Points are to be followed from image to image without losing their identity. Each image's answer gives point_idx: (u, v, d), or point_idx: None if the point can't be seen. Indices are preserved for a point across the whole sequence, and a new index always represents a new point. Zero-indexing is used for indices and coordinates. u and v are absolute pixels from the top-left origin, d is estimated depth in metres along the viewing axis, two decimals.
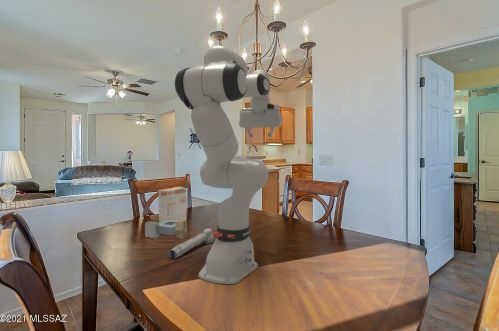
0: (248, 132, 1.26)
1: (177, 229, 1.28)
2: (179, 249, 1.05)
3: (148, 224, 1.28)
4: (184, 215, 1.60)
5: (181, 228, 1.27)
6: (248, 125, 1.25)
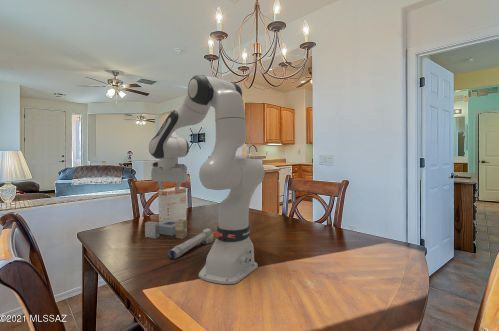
0: (179, 186, 1.37)
1: (177, 229, 1.28)
2: (179, 249, 1.05)
3: (148, 224, 1.28)
4: (184, 215, 1.60)
5: (181, 228, 1.27)
6: None
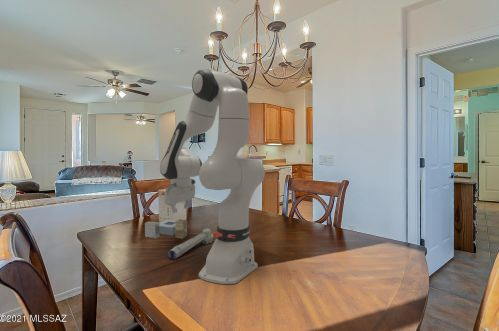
0: (175, 208, 1.24)
1: (177, 229, 1.28)
2: (178, 249, 1.05)
3: (148, 224, 1.28)
4: (184, 215, 1.60)
5: (181, 228, 1.27)
6: (177, 201, 1.23)
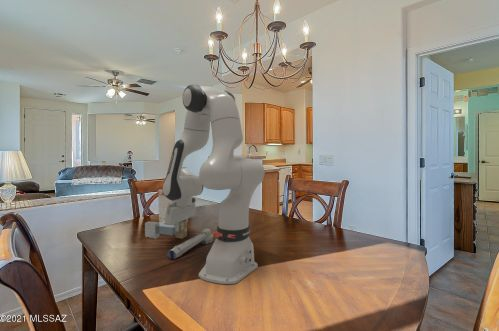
0: (178, 226, 1.26)
1: None
2: (178, 249, 1.05)
3: (148, 224, 1.28)
4: None
5: (181, 228, 1.27)
6: (177, 221, 1.24)
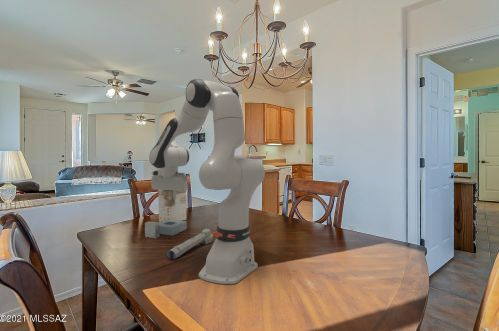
0: (176, 194, 1.38)
1: (171, 198, 1.37)
2: (178, 250, 1.04)
3: (148, 224, 1.28)
4: (184, 215, 1.60)
5: None
6: None
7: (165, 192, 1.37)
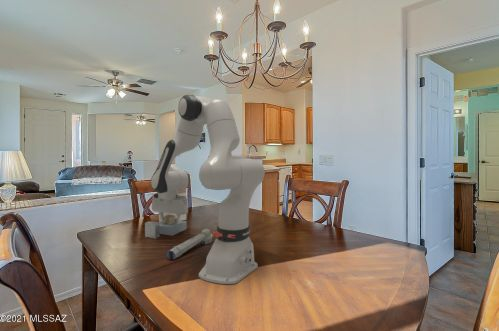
0: None
1: (171, 224, 1.37)
2: (177, 250, 1.04)
3: (148, 224, 1.28)
4: (184, 215, 1.60)
5: (174, 221, 1.40)
6: None
7: (166, 218, 1.37)
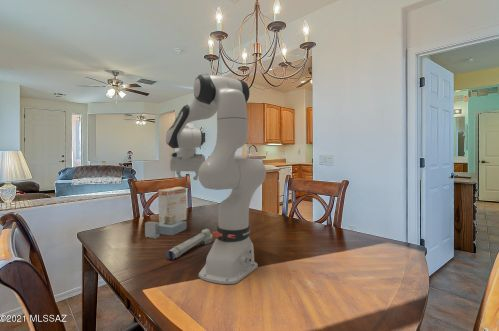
0: (197, 175, 1.43)
1: (171, 224, 1.37)
2: (177, 250, 1.04)
3: (148, 224, 1.28)
4: (184, 215, 1.60)
5: (174, 221, 1.40)
6: None
7: (166, 218, 1.37)
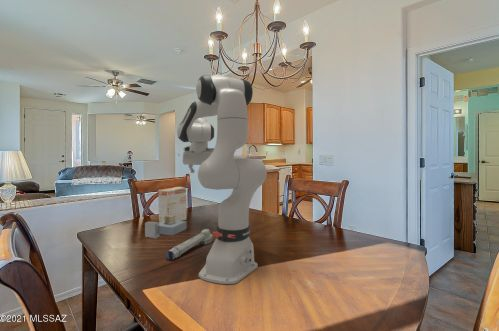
0: None
1: (171, 224, 1.37)
2: (177, 250, 1.04)
3: (148, 224, 1.28)
4: (184, 215, 1.60)
5: (174, 221, 1.40)
6: None
7: (166, 218, 1.37)
